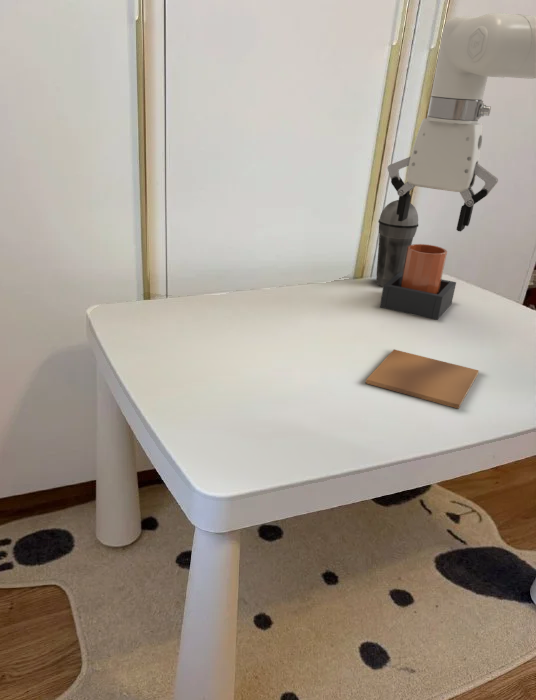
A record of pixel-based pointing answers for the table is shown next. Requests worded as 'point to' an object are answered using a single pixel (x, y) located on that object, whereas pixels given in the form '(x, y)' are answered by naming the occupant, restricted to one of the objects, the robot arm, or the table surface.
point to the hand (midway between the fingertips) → (430, 224)
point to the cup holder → (417, 298)
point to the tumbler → (423, 268)
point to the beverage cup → (394, 241)
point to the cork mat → (424, 378)
